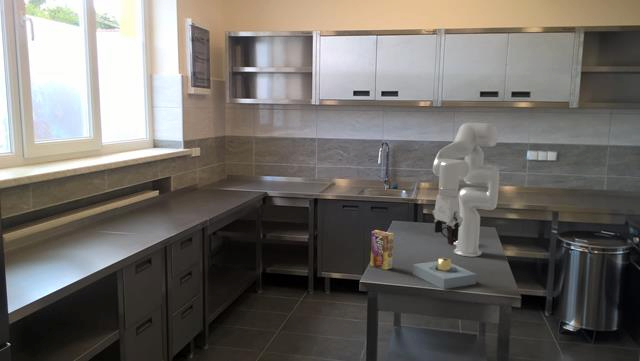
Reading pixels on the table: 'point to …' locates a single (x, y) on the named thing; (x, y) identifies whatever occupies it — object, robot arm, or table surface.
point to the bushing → (444, 264)
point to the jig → (444, 275)
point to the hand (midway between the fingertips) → (445, 235)
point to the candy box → (382, 249)
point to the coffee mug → (450, 240)
